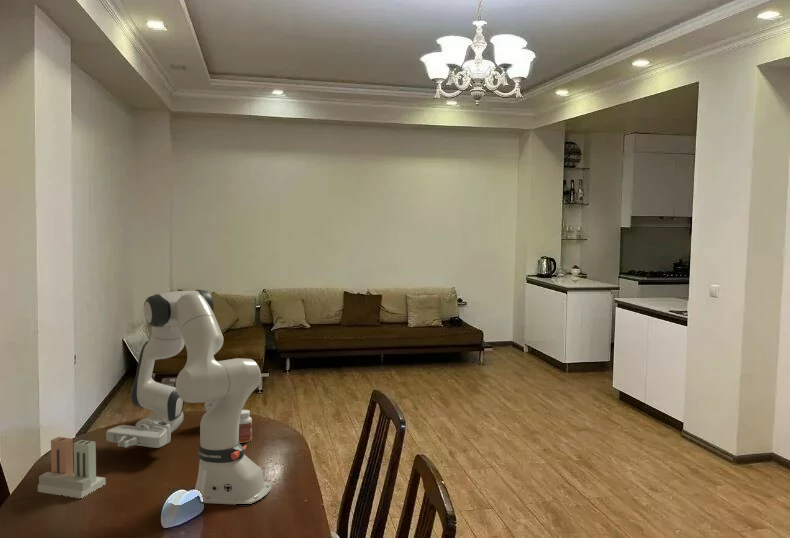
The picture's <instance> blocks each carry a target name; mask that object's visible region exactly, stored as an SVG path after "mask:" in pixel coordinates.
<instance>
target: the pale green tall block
mask: <svg viewBox="0 0 790 538" xmlns="http://www.w3.org/2000/svg"><path fill="white" fill-rule="evenodd" d="M96 448H97V447H96V441H92V440H85V439H79V440H78V441H76V442H73V473H74V476H78V477H85V478H91V484H92V483H94V482H95V481H96V477H97V452H96V451H97V450H96Z"/></svg>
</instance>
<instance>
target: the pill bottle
mask: <svg viewBox="0 0 790 538" xmlns="http://www.w3.org/2000/svg"><path fill="white" fill-rule="evenodd" d="M250 415H251V411H250V410H249V409H242V411H241V415H240V421H239V442H240V443H242V442H248V441H250V440H251V439H252V440H253V419H252V417H251V416H250ZM252 440H251V441H252Z"/></svg>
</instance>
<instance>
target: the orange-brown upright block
mask: <svg viewBox="0 0 790 538" xmlns="http://www.w3.org/2000/svg"><path fill="white" fill-rule="evenodd" d="M73 440H74V439H73V438H69V437H61V436H58V437H55V438H53V439H50V460H51V462H50V463H51V464H50V465H51V471H50V472H52V473H58V474H65V475H72V476H73V473H74V442H73Z"/></svg>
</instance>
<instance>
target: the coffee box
mask: <svg viewBox="0 0 790 538" xmlns="http://www.w3.org/2000/svg"><path fill="white" fill-rule="evenodd" d="M177 377H178V376H177ZM177 377H176V376H175V377H163V378H161V381H160V383H161V384H164V385H168V386H172V387H175V388H176V379H177Z"/></svg>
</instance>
